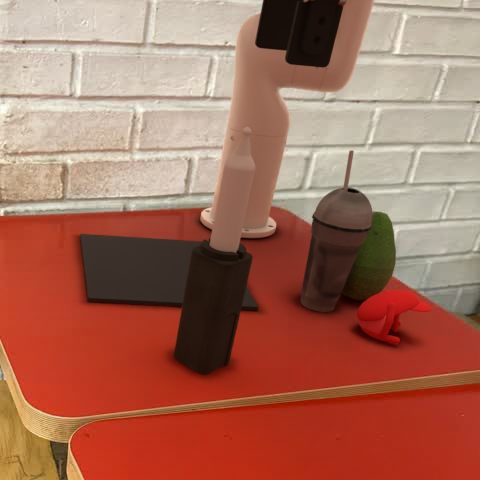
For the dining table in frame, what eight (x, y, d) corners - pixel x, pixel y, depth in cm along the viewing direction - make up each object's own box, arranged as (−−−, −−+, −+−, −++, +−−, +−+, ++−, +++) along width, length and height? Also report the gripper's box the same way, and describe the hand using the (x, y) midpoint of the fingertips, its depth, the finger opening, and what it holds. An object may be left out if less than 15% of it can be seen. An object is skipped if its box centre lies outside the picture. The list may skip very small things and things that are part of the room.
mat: (80, 237, 105) (80, 233, 105) (221, 246, 108) (221, 242, 107) (87, 302, 87) (88, 297, 87) (257, 311, 89) (258, 306, 89)
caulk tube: (203, 376, 74) (252, 136, 61) (168, 356, 77) (208, 123, 64) (233, 363, 77) (286, 131, 64) (199, 344, 80) (243, 119, 67)
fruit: (335, 308, 92) (362, 221, 85) (313, 283, 98) (337, 200, 92) (391, 311, 93) (422, 225, 86) (367, 285, 100) (393, 204, 93)
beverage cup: (347, 320, 89) (398, 164, 78) (290, 311, 90) (333, 155, 79) (342, 297, 95) (388, 149, 84) (288, 288, 96) (328, 140, 85)
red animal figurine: (360, 344, 84) (376, 300, 81) (345, 321, 89) (359, 278, 86) (425, 350, 84) (443, 305, 81) (406, 326, 89) (422, 284, 86)
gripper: (262, -223, 52) (218, 38, 61) (348, -284, 37) (273, 71, 47) (358, -210, 52) (300, 46, 62) (479, -264, 38) (379, 80, 47)
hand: (288, 55), depth 54 cm, fingers open, 7 cm apart
